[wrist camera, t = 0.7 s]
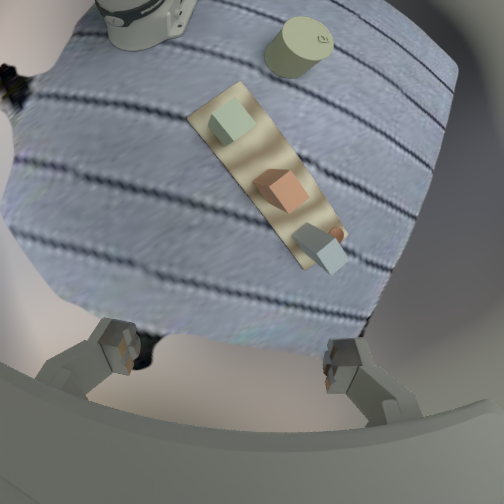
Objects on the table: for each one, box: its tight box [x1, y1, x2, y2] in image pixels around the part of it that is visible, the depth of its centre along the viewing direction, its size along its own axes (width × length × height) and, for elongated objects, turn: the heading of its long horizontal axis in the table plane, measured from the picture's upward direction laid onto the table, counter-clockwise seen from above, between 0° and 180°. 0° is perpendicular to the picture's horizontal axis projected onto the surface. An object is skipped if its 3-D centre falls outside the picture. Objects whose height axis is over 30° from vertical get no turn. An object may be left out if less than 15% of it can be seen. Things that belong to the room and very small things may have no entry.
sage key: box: [208, 97, 257, 147], centre depth 40 cm, size 5×4×12 cm
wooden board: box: [187, 81, 348, 271], centre depth 51 cm, size 38×12×2 cm, turn 38°
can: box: [265, 16, 334, 78], centre depth 39 cm, size 9×9×12 cm
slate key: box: [292, 222, 349, 275], centre depth 50 cm, size 5×4×12 cm
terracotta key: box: [252, 169, 310, 214], centre depth 45 cm, size 5×4×12 cm
